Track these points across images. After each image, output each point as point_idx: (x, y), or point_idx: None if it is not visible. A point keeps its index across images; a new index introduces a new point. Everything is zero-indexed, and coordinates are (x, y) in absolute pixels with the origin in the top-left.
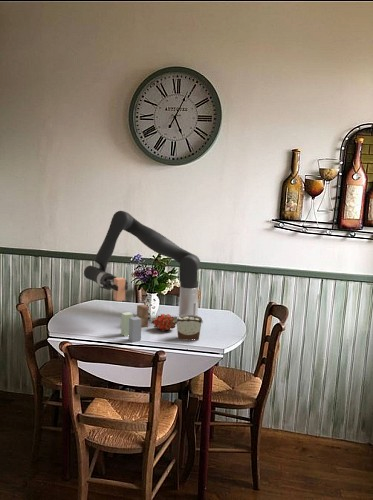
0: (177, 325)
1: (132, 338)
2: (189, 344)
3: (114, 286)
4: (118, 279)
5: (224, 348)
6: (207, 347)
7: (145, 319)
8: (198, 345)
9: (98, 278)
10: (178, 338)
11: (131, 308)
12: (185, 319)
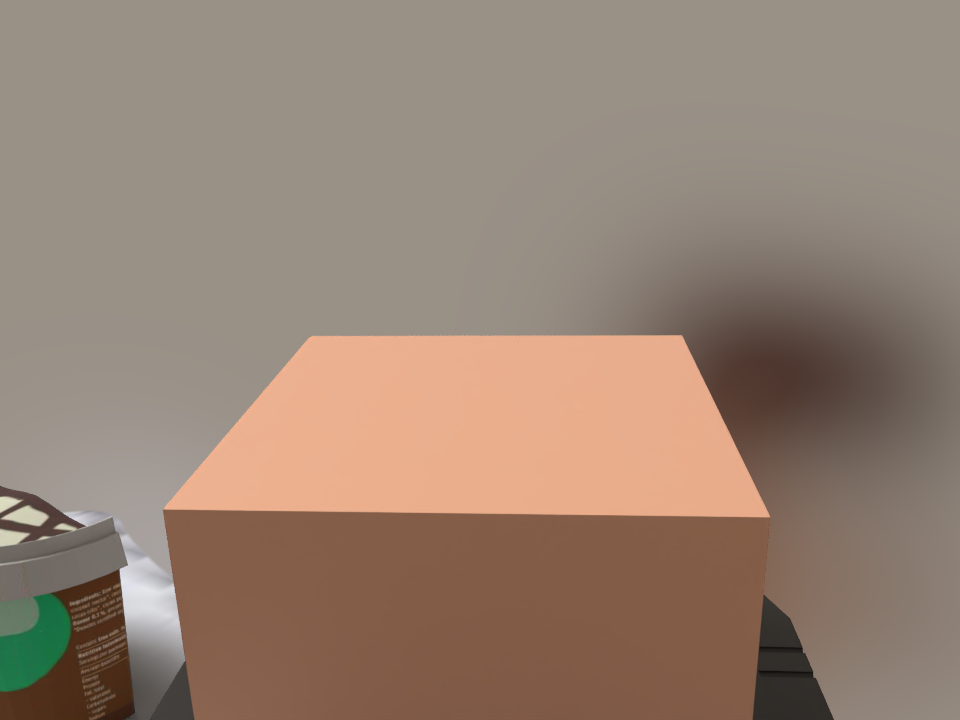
0: (115, 590)
1: None
2: (172, 613)
3: (773, 662)
4: (618, 349)
5: (72, 513)
6: (133, 548)
7: None
8: (141, 583)
9: None
10: (127, 702)
11: None
12: (50, 511)
